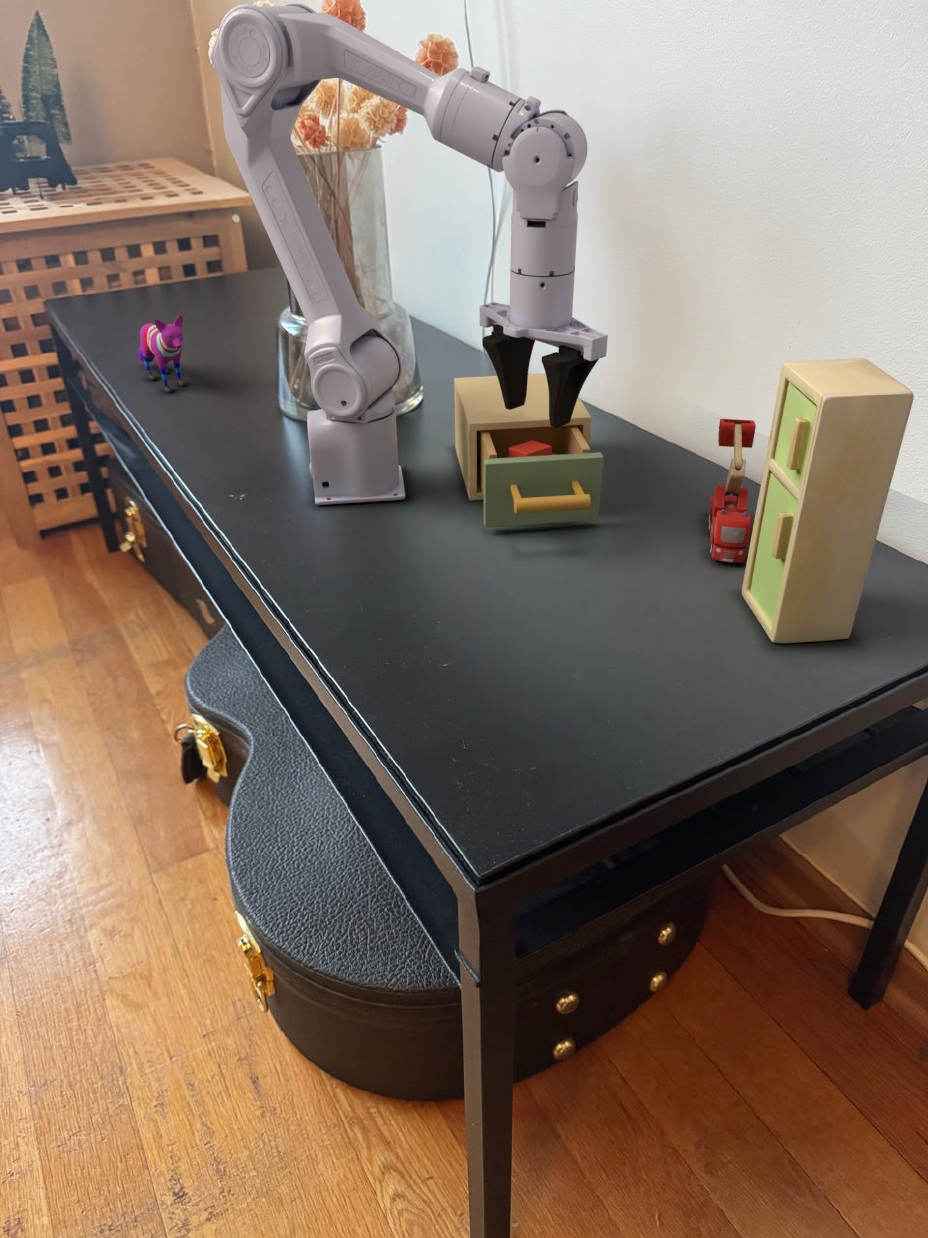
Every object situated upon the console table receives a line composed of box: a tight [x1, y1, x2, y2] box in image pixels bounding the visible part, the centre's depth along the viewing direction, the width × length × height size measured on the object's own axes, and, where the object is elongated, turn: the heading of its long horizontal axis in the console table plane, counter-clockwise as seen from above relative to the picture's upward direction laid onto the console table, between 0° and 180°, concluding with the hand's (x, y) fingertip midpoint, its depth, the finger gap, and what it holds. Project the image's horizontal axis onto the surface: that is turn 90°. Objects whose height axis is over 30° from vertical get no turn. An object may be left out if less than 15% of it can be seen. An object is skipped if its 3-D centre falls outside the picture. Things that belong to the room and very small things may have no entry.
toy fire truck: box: [707, 418, 757, 564], centre depth 87 cm, size 3×14×10 cm, turn 168°
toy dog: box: [137, 314, 186, 393], centre depth 124 cm, size 4×18×10 cm, turn 36°
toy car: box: [509, 440, 557, 458], centre depth 92 cm, size 6×4×4 cm, turn 127°
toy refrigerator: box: [741, 357, 915, 644], centre depth 71 cm, size 8×7×21 cm
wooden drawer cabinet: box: [453, 372, 592, 501], centre depth 99 cm, size 14×13×9 cm
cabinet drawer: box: [477, 425, 605, 529], centre depth 91 cm, size 17×11×7 cm, turn 7°
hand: (537, 415), depth 88 cm, fingers open, 6 cm apart
